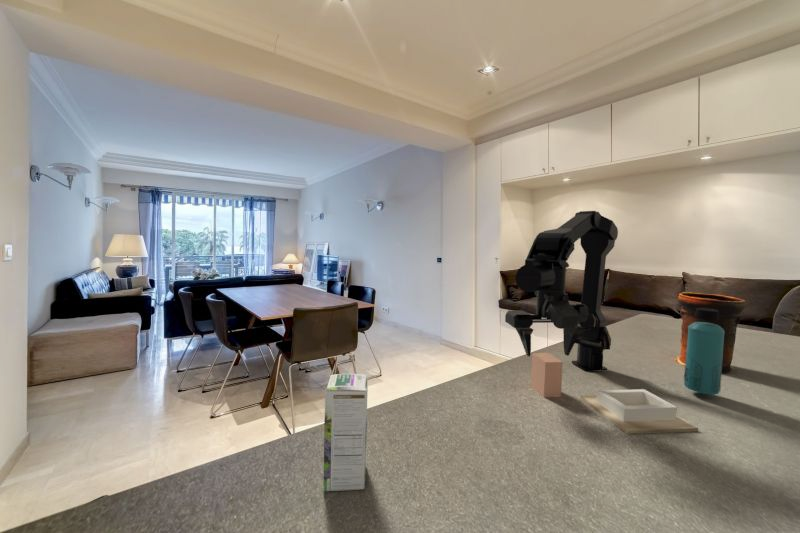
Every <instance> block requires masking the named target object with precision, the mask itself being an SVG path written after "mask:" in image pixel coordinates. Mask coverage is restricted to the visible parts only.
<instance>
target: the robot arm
mask: <svg viewBox="0 0 800 533" xmlns="http://www.w3.org/2000/svg"><path fill="white" fill-rule="evenodd" d="M618 235H619V230H618V227H617V225H616V224H615V222H614V221H613V220H611V219H609V218H607V217H606V216H602V215H601V214H600V211H597V210H586V211H585V210H582V211H579V212H576V213H575V215H574V216H572V217H571V218H570V219H569V220H567V221H566V222H564V223H563V224H562V225H560V226H559V227H558V228H555V229H548V230H544V231H541V232H539V233H538V234H537V235H536V237H535V238H534V240H533V242H532V245H531V247H530V250H529V252H528V253H527V256H526V259H525V260H524V265H522V266H520V267H519V268H518V269H517V271H516V274H515V282H516V285H517V287H518V288H519V289H520V290H521V291H523V292H525V293H534V296H536V306H535V307H534V308H533V313H535V314H533V313H532V314H531V313H529V312H527V311H525V310H523V309H522V310H521V309H520V310H518V309H515V310H513V309H512V310H511V309H510V310H508V311H506V313H505V316H504V318H505V319H504V321H505V323H506V324H508V325H510V326H511V327H512V328H514V329H515V330H516V332H517V334H518V336H519V339H520V341H521V344H522V346H523V349H524V352H525V355H526V356H527V357H530V356H531V352H532V334H533V331H534V329H533V328H531V327H532V326H533V324H536V323H537V324H538V323H539V324H540V323H543V324H545V323H546V324H547V323H549V324H550V323H552V324H553V325H554V327H556V328H557V329H562V331H563V332H562V333H563V352H564V355H566V356H567V357H569V355H570V354H571V352H572V350H573V348H574V346H575V344H576V345H577V355H576V356H577V357H576V360H571V363H572V364H573V365H575V367H578V368H579V369H581V370H583V371H585V372H591V371H592V372H593V371H596V372H599V371H600V372H601V371H608V368H607V367H605V366H604V351H605V350H611V345H612V337H611V335H610V333H609V330H608V328H607V319H606V317H605V315H604V313H603V312H602V299H603V290H604V279H605V269H606V261H607V260H606V259H607V256H608V255H609V253H610V252H611V251H612V250H613V249H614V247H615V244H616V240H617V239H618ZM578 240H580V246H581V248H582V251H583V252H584V253H585V264H584V271H583V272H584V273H583V281H582V290H581V291H582V292H581V299H580V300H581V302H580V303H576V304H570V300H569V298H570V297H569V294H568V293H566V280H567V279H566V278H567V277H566V275H567V274H566V273H567V268H569V267H570V264H569V263H568V262H567V261H568V260H569V258H570V256H571V255H572V253H573V252H574V251H575V243H576V242H577V241H578Z"/></svg>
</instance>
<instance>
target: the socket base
mask: <svg viewBox="0 0 800 533" xmlns="http://www.w3.org/2000/svg"><path fill="white" fill-rule="evenodd" d="M596 398H597V394H594V395H593V394H591V395H590V394H589V395H585V394H584V395H580V399H581V400H582V401H583V402H585V403H586V404H587V405H589V406H590V407H591V408H592V409H594V410H595V411H596V412H598V413H599V414H600V415H602V416H603V417H605V418H606V419H607V420H608V421H610V423H612V424H614V425H615V426H616V427H618V428H619V429H621V430H622V431H623V432H624V433H626V434H627V435H629V434H632V435H633V434H654V433H655V434H657V433H677V432H678V433H683V432H685V433H687V432H699V427H697V426H696V425H694V424H692V423H691V422H689V421H687V420H686V419H683V418H682V417H680V416H678V415H677V414H676V420H656V421H627V422H623V421H622V420H621V419H619V418H618V417H617V416H615V415H614V414H612V413H611V412H610V411H608V410H607V409H606V408H604V407H603V406H601V405H600V404H599V403H597V402H596ZM624 405H625V406H635V405H645V404H643V403H633V404H624Z"/></svg>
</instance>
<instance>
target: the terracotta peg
mask: <svg viewBox="0 0 800 533" xmlns="http://www.w3.org/2000/svg"><path fill="white" fill-rule="evenodd" d="M531 359H532V361H531V378H530V379H531V380H530V381H531V382H530V387H532V388H533V389H534V390H535V391H536V392H537V393H538V394H539V395H540V396H542V397H543V398H561V397H562V384H563V383H562V380H563V378H562V377H563V365H564V364H563V361H562V360H560V359H558V358H557V357H556V356H554V355H553V354H551V353H550V352H538V353H537V352H534V353H532V358H531Z"/></svg>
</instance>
